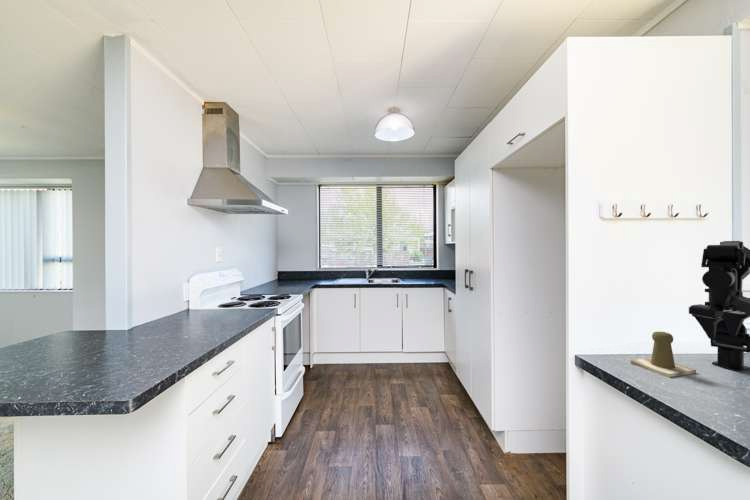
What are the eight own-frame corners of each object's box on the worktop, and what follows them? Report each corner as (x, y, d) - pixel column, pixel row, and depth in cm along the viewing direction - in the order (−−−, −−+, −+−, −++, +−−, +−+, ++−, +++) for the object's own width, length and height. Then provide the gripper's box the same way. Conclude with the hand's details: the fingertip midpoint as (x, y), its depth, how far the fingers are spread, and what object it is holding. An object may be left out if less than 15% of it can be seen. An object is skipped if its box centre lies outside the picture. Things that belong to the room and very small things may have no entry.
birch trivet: (655, 359, 109) (655, 356, 109) (695, 372, 98) (695, 369, 98) (630, 363, 107) (630, 360, 107) (669, 377, 95) (669, 374, 95)
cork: (677, 370, 98) (677, 336, 98) (652, 366, 101) (651, 333, 101) (673, 363, 103) (672, 331, 103) (649, 360, 106) (648, 328, 106)
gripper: (737, 292, 82) (737, 349, 82) (784, 288, 86) (783, 342, 87) (687, 286, 93) (687, 337, 93) (730, 283, 97) (730, 332, 98)
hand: (722, 337), depth 92 cm, fingers open, 9 cm apart
